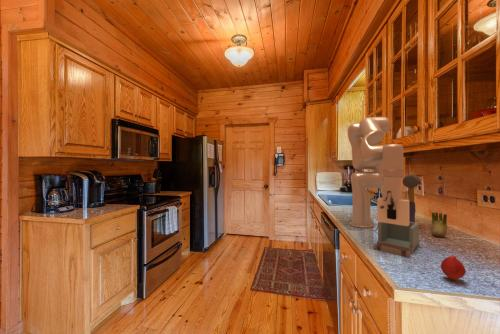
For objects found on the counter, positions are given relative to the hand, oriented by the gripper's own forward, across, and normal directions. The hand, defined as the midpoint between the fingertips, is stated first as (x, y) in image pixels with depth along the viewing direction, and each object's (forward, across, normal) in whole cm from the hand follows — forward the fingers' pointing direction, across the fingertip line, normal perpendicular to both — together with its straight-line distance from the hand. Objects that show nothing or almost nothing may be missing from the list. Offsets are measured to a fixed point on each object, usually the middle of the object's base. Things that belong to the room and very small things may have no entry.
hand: (392, 217), depth 97 cm
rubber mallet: (+14, -46, -2) cm, 48 cm away
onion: (+14, +14, +20) cm, 28 cm away
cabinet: (+14, -6, 0) cm, 15 cm away
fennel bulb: (+14, -36, +11) cm, 40 cm away
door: (+2, 0, 0) cm, 2 cm away
